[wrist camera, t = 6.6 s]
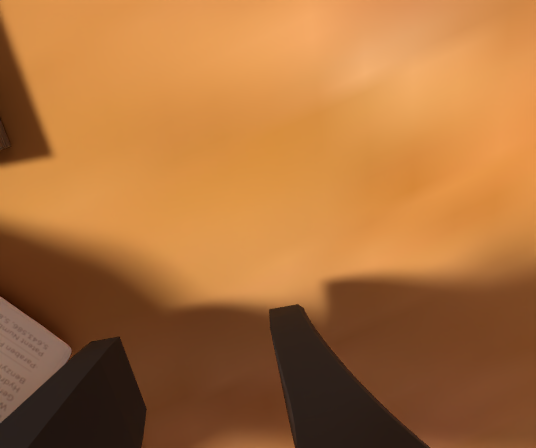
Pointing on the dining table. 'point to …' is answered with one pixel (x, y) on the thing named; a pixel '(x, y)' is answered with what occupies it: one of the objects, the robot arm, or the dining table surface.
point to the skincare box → (25, 357)
